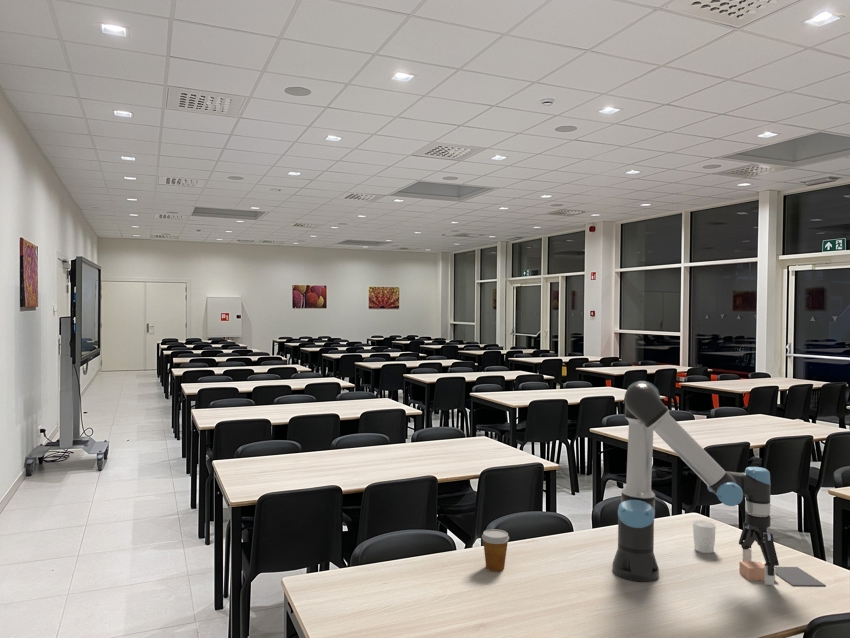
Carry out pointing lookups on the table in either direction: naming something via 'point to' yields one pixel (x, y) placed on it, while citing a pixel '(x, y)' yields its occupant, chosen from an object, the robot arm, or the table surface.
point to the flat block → (753, 570)
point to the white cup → (704, 536)
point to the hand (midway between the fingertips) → (757, 576)
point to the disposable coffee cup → (495, 548)
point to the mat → (797, 577)
